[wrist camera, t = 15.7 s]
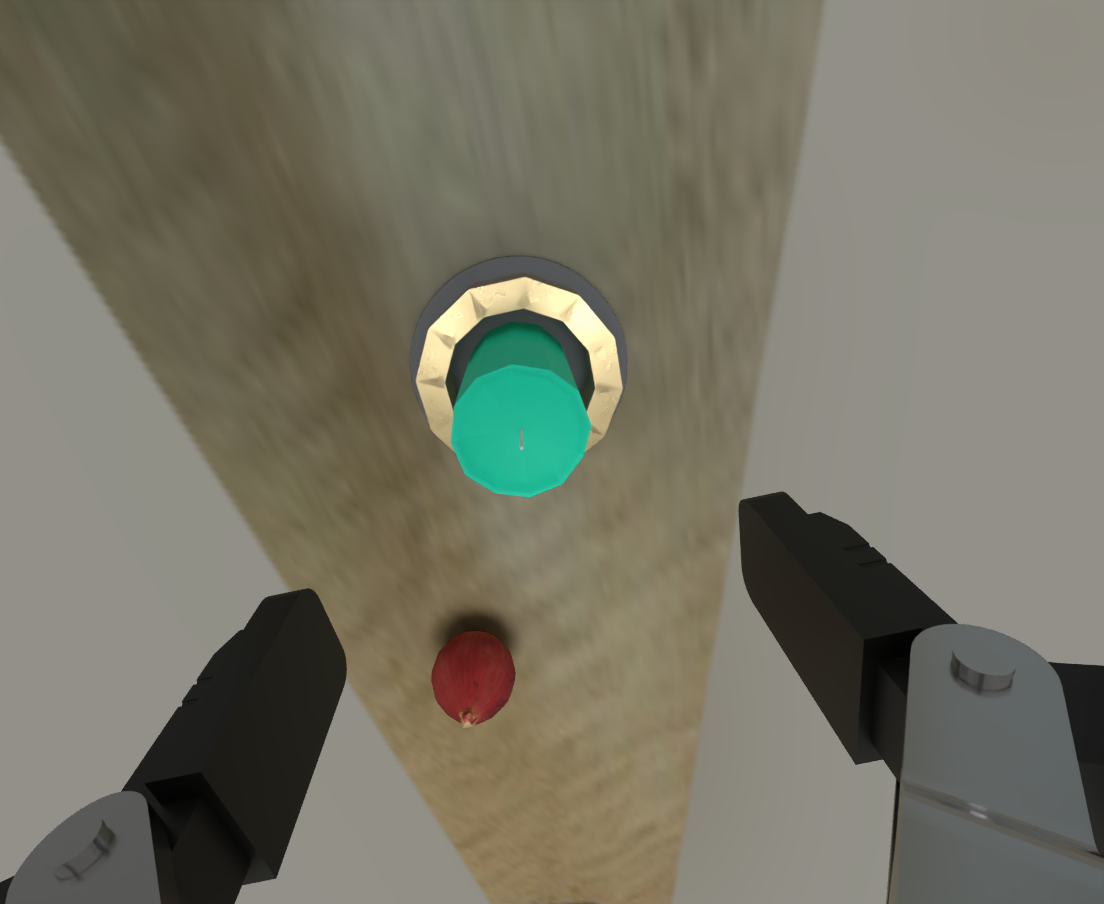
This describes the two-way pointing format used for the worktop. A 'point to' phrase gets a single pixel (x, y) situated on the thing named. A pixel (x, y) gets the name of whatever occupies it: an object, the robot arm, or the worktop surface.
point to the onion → (473, 677)
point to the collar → (508, 297)
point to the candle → (519, 413)
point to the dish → (518, 317)
